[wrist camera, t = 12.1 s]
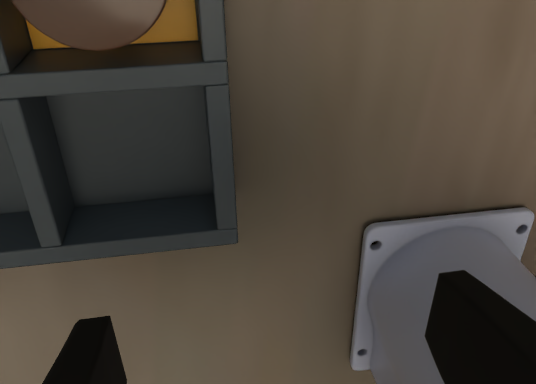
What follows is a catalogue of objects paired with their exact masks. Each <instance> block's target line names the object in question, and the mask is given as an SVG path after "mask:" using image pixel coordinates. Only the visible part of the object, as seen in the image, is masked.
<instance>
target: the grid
mask: <svg viewBox="0 0 536 384" xmlns="http://www.w3.org/2000/svg"><path fill="white" fill-rule="evenodd" d="M228 82H229V80H228V63H227V47H226V30H225V13H224V0H167V1H166V4H165V7H164V9H163V11H162V13H161V15H160V17H159V18H158V20H157V21H156V23H155V24H154V25H153V26H152V27H151V29H150V30H149V31H148V32H147V33H145V34H144V35H143V36H142V37H140V38H139V39H137V40H136V41H134V42H132V43H131V44H128V45H126V46H123V47H120V48H117V49H113V50H105V51H88V50H81V49H77V48H73V47H69V46H67V45H64V44H61V43H59V42H57V41H55V40H53V39H51V38H49V37H48V36H46V35H45V34H43V33H42V32H40V31H39V30H37V29H36V28H35V27H34V26H33V25H31V24H30V23H29V22H28V21H27V20H26V19H25V18H24V17H23V16H22V15H21V14H20V12H19V11H18V10H17V8H16V7H15V6H14V5H13V3H12V2H11V0H0V269H3V268H13V267H22V266H32V265H41V264H50V263H60V262H69V261H78V260H88V259H97V258H106V257H116V256H125V255H135V254H144V253H153V252H163V251H172V250H181V249H191V248H200V247H210V246H219V245H228V244H237V243H238V231H237V213H236V196H235V179H234V163H233V146H232V129H231V113H230V96H229V84H228Z"/></svg>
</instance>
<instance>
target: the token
mask: <svg viewBox="0 0 536 384" xmlns="http://www.w3.org/2000/svg"><path fill="white" fill-rule="evenodd" d="M166 1H167V0H11V2H12V3H13V5H14V6H15V7H16V8H17V10H18V11H19V12H20V14H21V15H22V16H23V17H24V18H25V19H26V20H27V21H28V22H29V23H30V24H31V25H33V26H34V27H35V28H36V29H37V30H39V31H40V32H42V33H43V34H45V35H46V36H48V37H49V38H51V39H53V40H55V41H57V42H59V43H61V44H64V45H67V46H69V47H73V48H77V49H81V50H88V51H105V50H113V49H117V48H120V47H123V46H126V45H128V44H131V43H132V42H134V41H136V40H137V39H139V38H140V37H142V36H143V35H144V34H145V33H147V32H148V31H149V30H150V29H151V27H152V26H153V25H154V24H155V23H156V21H157V20H158V18H159V17H160V15H161V13H162V11H163V9H164V7H165V4H166Z"/></svg>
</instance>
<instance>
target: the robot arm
mask: <svg viewBox="0 0 536 384" xmlns="http://www.w3.org/2000/svg"><path fill="white" fill-rule="evenodd" d="M533 221H534V213H533V212H532V211H531V210H530V209H528V208H526V207H520V208H511V209H501V210H492V211H482V212H473V213H463V214H454V215H444V216H435V217H425V218H416V219H406V220H397V221H387V222H378V223H373V224H370V225H369V226H367V228H366V229H365V231H364V235H363V244H362V253H361V262H360V271H359V281H358V290H357V299H356V308H355V317H354V327H353V336H352V345H351V354H350V364H351V367H352V369H353V370H356V371H362V370H369V369H371V372H372V374H373V377H374V379H375V382H376V384H536V278H535V277H534V276H533V274H532V273H531V272H530V271H529V270H528V269H527V268H526V267H525V266H524V265H523V264H522V263H521V261H520V260H521V257H522V254H523V251H524V248H525V245H526V242H527V239H528V236H529V233H530V230H531V227H532V224H533ZM519 226H520V227H519ZM518 227H519V228H518ZM374 241H378V242H377V243H376V244H374V245H371V244H372V243H373V242H374ZM42 384H127V379H126V375H125V371H124V367H123V363H122V360H121V356H120V352H119V348H118V344H117V341H116V337H115V333H114V329H113V325H112V322H111V318H110V316H104V317H97V318H89V319H81V320H79V321H78V322H77V323H76V324H75V325H74V327H73V329H72V331H71V333H70V335H69V337H68V339H67V340H66V342H65V344H64V346H63V348H62V350H61V352H60V353H59V355H58V357H57V359H56V361H55V362H54V364H53V366H52V368H51V369H50V371H49V373H48V374H47V376H46V378H45V380H44V381H43V383H42Z"/></svg>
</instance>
